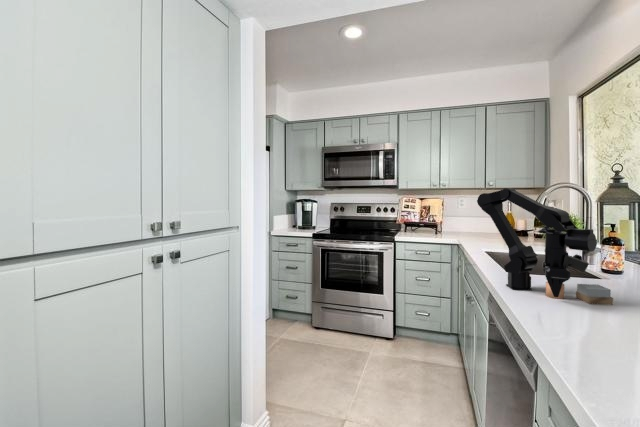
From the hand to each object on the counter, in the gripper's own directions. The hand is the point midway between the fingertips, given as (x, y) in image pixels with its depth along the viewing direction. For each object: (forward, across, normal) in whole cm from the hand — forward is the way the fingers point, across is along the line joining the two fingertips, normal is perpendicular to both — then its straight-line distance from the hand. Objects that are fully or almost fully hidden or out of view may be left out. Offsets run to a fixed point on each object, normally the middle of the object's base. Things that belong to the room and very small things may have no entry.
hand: (554, 293), depth 108 cm
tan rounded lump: (+1, 0, 0) cm, 1 cm away
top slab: (-1, 0, -10) cm, 10 cm away
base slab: (+1, 0, -10) cm, 10 cm away
